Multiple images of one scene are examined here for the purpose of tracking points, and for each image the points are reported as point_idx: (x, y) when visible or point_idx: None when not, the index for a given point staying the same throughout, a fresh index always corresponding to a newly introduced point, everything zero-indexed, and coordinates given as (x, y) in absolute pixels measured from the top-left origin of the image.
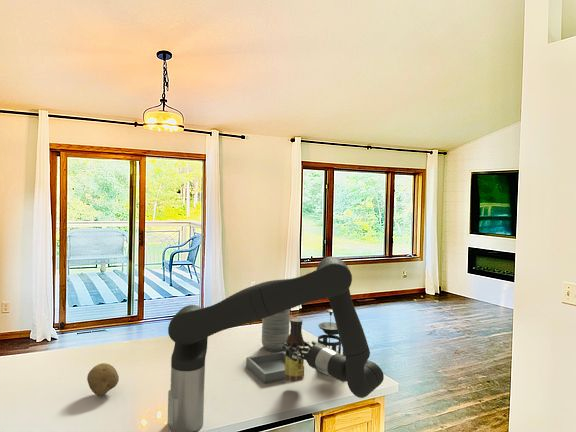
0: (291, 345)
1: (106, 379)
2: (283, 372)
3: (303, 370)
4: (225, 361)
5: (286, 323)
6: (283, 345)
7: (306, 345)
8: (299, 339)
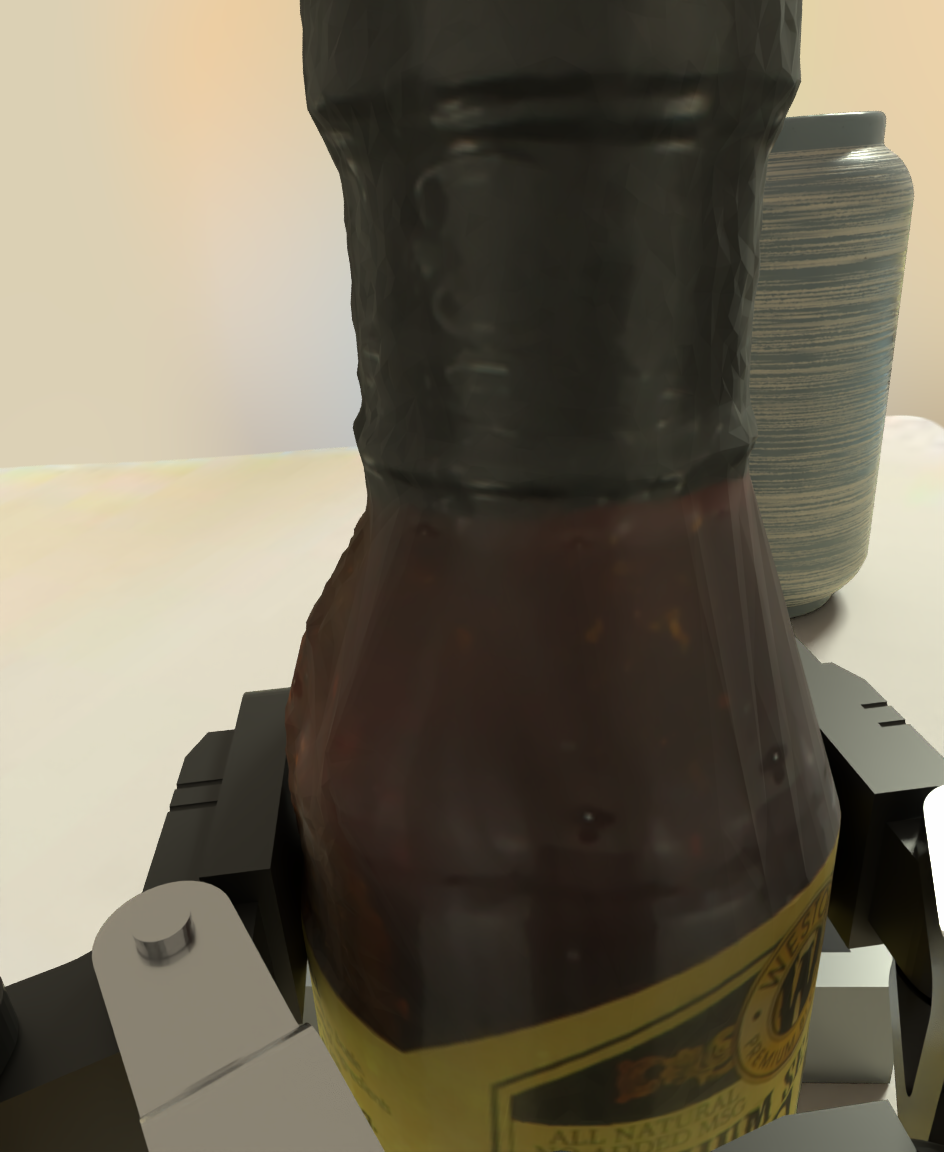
0: (310, 854)
1: None
2: None
3: (888, 1028)
4: (298, 648)
5: (843, 392)
6: (180, 773)
7: (911, 904)
8: (569, 731)
